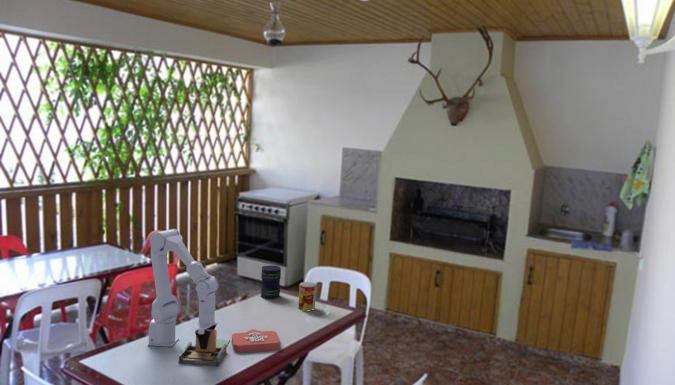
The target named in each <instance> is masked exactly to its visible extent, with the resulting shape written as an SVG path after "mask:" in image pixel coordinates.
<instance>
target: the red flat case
mask: <svg viewBox="0 0 675 385" xmlns="http://www.w3.org/2000/svg"><path fill="white" fill-rule="evenodd" d="M231 345H232V349H233V352H235V353H248V352H249V353H251V352H261V351H262V352H264V351H265V352H266V351H276V350H280V347H281V339H280V337H279V335H278V333H277V332H276V331H275V330H263V331H262V330H258V329H253V328H252V329H250V330H248V331H246V332H235V333H232V334H231Z"/></svg>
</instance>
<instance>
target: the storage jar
mask: <svg viewBox="0 0 675 385" xmlns="http://www.w3.org/2000/svg"><path fill="white" fill-rule="evenodd" d="M281 269H282V267H281V266H278V265H274V264H273V265H264V266H262V267H261V273H260V274H261V276H260V277H261V286H260V298H262V299H264V300H277V299H279V298H280V294H281V278H282V273H281V272H282V270H281Z"/></svg>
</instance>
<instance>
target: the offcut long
mask: <svg viewBox="0 0 675 385" xmlns="http://www.w3.org/2000/svg"><path fill="white" fill-rule="evenodd" d="M214 358H215V357H212V356H199V355H187V356H186V359H198V360H215V359H214Z"/></svg>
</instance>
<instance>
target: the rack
mask: <svg viewBox="0 0 675 385" xmlns="http://www.w3.org/2000/svg"><path fill="white" fill-rule="evenodd" d="M192 352H198V353H211V356H212V357H214V358H215V359H214V360H198V359H187V357H188V355H191V353H192ZM225 354H227V347H226V344H224V345H223V347H216V352H203V351H196V346H195V345H193V342H192V341H189V342H188V343H187V344H186V346H185V347H184V348H183V350H182V351H181V352H180V353H179V355H178V364H179V365H181V364H182V365H192V366H193V365H194V366H195V365H197V366H210V367H211V366H213V367H219V364H220V363H221V362H222V360H223V359H224V356H225Z"/></svg>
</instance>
